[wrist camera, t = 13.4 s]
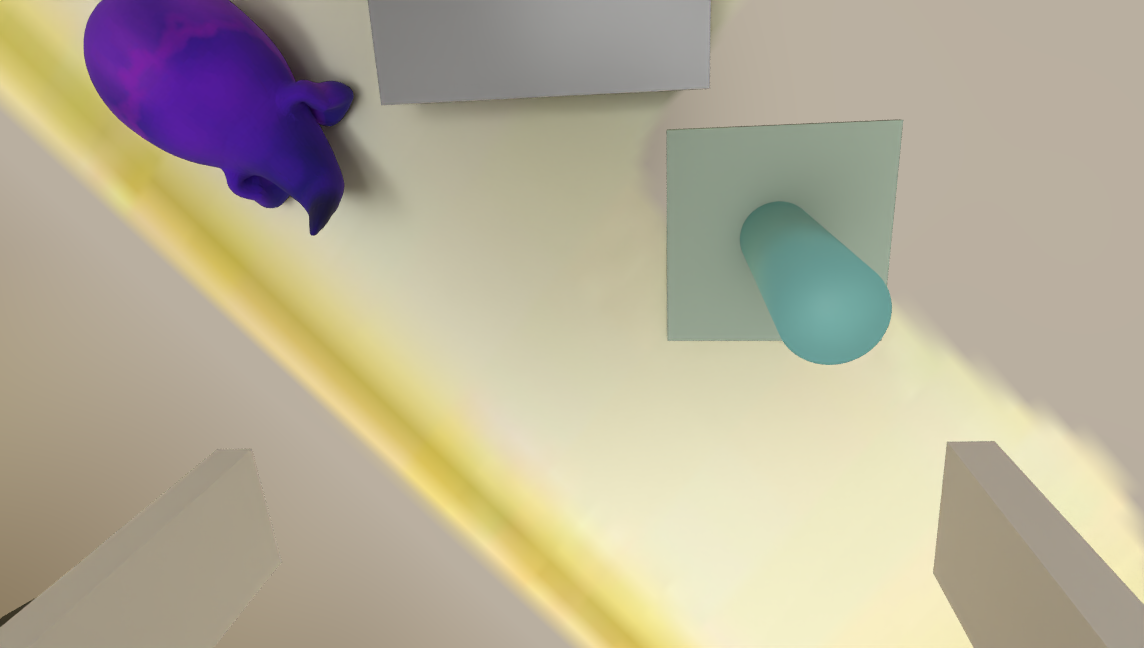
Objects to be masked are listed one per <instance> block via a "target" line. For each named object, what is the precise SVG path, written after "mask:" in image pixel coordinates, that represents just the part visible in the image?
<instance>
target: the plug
mask: <svg viewBox="0 0 1144 648" xmlns="http://www.w3.org/2000/svg"><path fill="white" fill-rule="evenodd" d="M740 246H741V250H742V253H743V255H744V257H745V259H746V262H747V264H748V266H749V268H750V270H751V273H752V275H753V277H754V279H755V282H756V284H757V286H758V288H759V291H760V293H761V295H762V297H763V299H764V302H765V304H766V306H767V308H768V311H769V313H770V315H771V317H772V319H773V322H774V324H775V326H776V328H777V331H778V333H779V335H780V337H781V339H782V340H783V342H784V343H785V345H786V346H787V347H788V348H789V349H790V350H791V351H792V352H793V353H795V354H796V355H797V356H799V357H801V358H803V359H805V360H807V361H810V362H813V363H817V364H825V365H833V364H841V363H846V362H849V361H852V360H855V359H857V358H859V357H861V356H863V355H864V354H866V353H867V352H869V351H870V350H871V349H872V348H873V347H874V346H876V345H877V343H878V342H879V341H880V340H881V338H882V337H883V335H884V334H885V332H886V330H887V328H888V325H889V322H890V319H891V313H892V303H891V297H890V293H889V290H888V288H887V286H886V284H885V283H884V281H883V280H882V278H881V277H880V276H879V275H878V274H877V273H876V272H875V271H874V270H873V269H871V268H870V267H869V266H868V265H867V264H866V263H864V262H863V261H862V260H861V259H860V258H859V257H857V256H856V255H855V254H854V253H853V252H852V251H850V250H849V249H848V248H847V247H846V246H845V245H843V244H842V243H841V242H840V241H839V240H838V239H837V238H835V237H834V236H833V235H832V234H831V233H830V232H828V231H827V230H826V229H825V228H824V227H823V226H821V225H820V224H819V223H818V222H817V221H816V220H814V219H813V218H812V217H811V216H810V215H809V214H807V213H806V212H805V211H804V210H803V209H802V208H800V207H799V206H797V205H795V204H792V203H789V202H782V201H777V202H771V203H767V204H764V205H762V206H760V207H758V208H757V209H755V210H754V211H753V212H752V213H751V214H750V215H749V216H748V217H747V219H746V220H745V222H744V224H743V226H742V229H741V233H740Z"/></svg>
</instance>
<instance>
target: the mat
mask: <svg viewBox="0 0 1144 648" xmlns="http://www.w3.org/2000/svg"><path fill="white" fill-rule="evenodd" d="M902 127H903V120H878V121H854V122H833V123H832V122H831V123H809V124H785V125H763V126H740V127H717V128H693V129H672V130H671V129H670V130H667V317H668V341H783V340H782V339H781V337H780V335H779V333H778V331H777V328H776V326H775V324H774V322H773V319H772V317H771V315H770V313H769V311H768V308H767V306H766V304H765V302H764V299H763V297H762V295H761V293H760V291H759V288H758V286H757V284H756V282H755V279H754V277H753V275H752V273H751V270H750V268H749V266H748V264H747V262H746V259H745V257H744V255H743V253H742V250H741V246H740V233H741V229H742V226H743V224H744V222H745V220H746V219H747V217H748V216H749V215H750V214H751V213H752V212H753V211H754V210H755V209H757V208H758V207H760V206H762V205H764V204H767V203H771V202H777V201H782V202H789V203H792V204H795V205H797V206H799V207H800V208H802V209H803V210H804V211H805V212H806V213H807V214H809V215H810V216H811V217H812V218H813V219H814V220H816V221H817V222H818V223H819V224H820V225H821V226H823V227H824V228H825V229H826V230H827V231H828V232H830V233H831V234H832V235H833V236H834V237H835V238H837V239H838V240H839V241H840V242H841V243H842V244H843V245H845V246H846V247H847V248H848V249H849V250H850V251H852V252H853V253H854V254H855V255H856V256H857V257H859V258H860V259H861V260H862V261H863V262H864V263H866V264H867V265H868V266H869V267H870V268H871V269H873V270H874V271H875V272H876V273H877V274H878V275H879V276H880V277H881V278H882V280H883V281H884V283H885V284H886V286H887V280H888V269H889V259H890V249H891V239H892V229H893V219H894V209H895V198H896V189H897V178H898V167H899V158H900V148H901V138H902ZM881 340H882V338H881ZM881 340H880V341H881Z"/></svg>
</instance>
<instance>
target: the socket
mask: <svg viewBox="0 0 1144 648" xmlns="http://www.w3.org/2000/svg"><path fill="white" fill-rule="evenodd" d="M368 5H369V13H370V21H371V28H372V36H373V44H374V52H375V60H376V67H377V75H378V83H379V91H380V98H381V105H397V104H421V103H440V102H460V101H479V100H499V99H518V98H538V97H557V96H577V95H596V94H616V93H636V92H655V91H675V90H693V89H708V88H710V19H711V0H368Z"/></svg>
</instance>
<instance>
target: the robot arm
mask: <svg viewBox="0 0 1144 648" xmlns="http://www.w3.org/2000/svg"><path fill="white" fill-rule="evenodd" d="M281 563H282V561H281V557H280V553H279V549H278V545H277V542H276V538H275V534H274V530H273V527H272V523H271V519H270V515H269V512H268V508H267V504H266V500H265V496H264V493H263V489H262V485H261V481H260V477H259V474H258V470H257V466H256V462H255V458H254V455H253V451H252V449H217V450H215V451H214V452H213V453H212V454H211V455H209V456H208V457H207V458H206V459H204V460H203V461H202V462H201V463H200V464H198V465H197V466H196V467H195V468H194V469H193V470H191V471H190V472H189V473H187V474H186V475H185V476H184V477H183V478H182V479H180V480H179V481H178V482H177V483H175V484H174V485H173V486H172V487H170V488H169V489H168V490H167V491H166V492H164V493H163V494H162V495H161V496H159V497H158V498H157V499H156V500H155V501H153V502H152V503H151V504H150V505H149V506H147V507H146V508H145V509H144V510H142V511H141V512H140V513H139V514H138V515H136V516H135V517H134V518H133V519H131V520H130V521H129V522H128V523H127V524H125V525H124V526H123V527H122V528H121V529H119V530H118V531H117V532H116V533H114V535H112V536H111V537H110V538H108V539H107V540H106V541H105V542H103V544H101V545H100V546H99V547H98V548H96V549H95V550H94V551H93V552H91V553H90V554H89V555H88V556H86V557H85V558H84V559H83V560H82V561H80V562H79V563H78V564H77V565H76V566H74V567H73V568H72V569H71V570H69V571H68V572H67V573H66V574H65V575H64V576H62V577H61V578H60V579H58V580H57V581H56V582H55V583H54V584H52V585H51V586H50V587H49V588H47V589H46V590H45V591H44V592H43V593H41V594H40V595H39V596H38V597H36V598H35V599H33V600H31V601H29V602H28V603H26V604H24V605H22V606H21V607H19V608H17V609H16V610H14V611H12V612H10V613H8V614H7V615H5V616H3V617H2V618H1V619H0V648H214V647H215V645H216V644H217V642H219V640H220V639H221V638H222V636H223V635H224V634H225V633H226V632H227V630H228V629H229V628H230V626H231V625H232V624H233V623H234V621H235V620H236V619H237V618H238V616H239V615H240V614H241V613H242V611H243V610H244V609H245V608H246V606H247V605H248V604H249V603H250V601H251V600H252V599H253V598H254V596H255V595H256V594H257V593H258V591H259V590H260V589H261V588H262V586H263V585H264V584H265V582H266V581H267V580H268V579H269V577H270V576H271V575H272V574H273V573H274V571H275V570H276V569H277V567H278V566H279V565H280V564H281ZM933 574H934V575H935V577H936V579H937V581H938V583H939V585H940V587H941V588H942V590H943V592H944V594H945V596H946V598H947V599H948V601H949V603H950V605H951V607H952V609H953V610H954V612H955V614H956V616H957V618H958V620H959V621H960V623H961V625H962V627H963V629H964V631H965V632H966V634H967V636H968V638H969V640H970V642H971V643H972V645H973V647H974V648H1144V604H1143V603H1142V602H1141V601H1140V600H1139V599H1138V598H1137V597H1136V595H1135V594H1134V593H1133V592H1132V591H1131V590H1130V589H1129V588H1128V587H1127V586H1126V585H1125V583H1124V582H1123V581H1122V580H1121V579H1120V578H1119V577H1118V576H1117V575H1116V574H1115V572H1114V571H1113V570H1112V569H1111V568H1110V567H1109V566H1108V565H1107V564H1106V563H1105V562H1104V560H1103V559H1102V558H1101V557H1100V556H1099V555H1098V554H1097V553H1096V552H1095V551H1094V550H1093V548H1092V547H1091V546H1090V545H1089V544H1088V543H1087V542H1086V541H1085V540H1084V539H1083V537H1082V536H1081V535H1080V534H1079V533H1078V532H1077V531H1076V530H1075V529H1074V528H1073V527H1072V525H1071V524H1070V523H1069V522H1068V521H1067V520H1066V519H1065V518H1064V517H1063V516H1062V514H1061V513H1060V512H1059V511H1058V510H1057V509H1056V508H1055V507H1054V506H1053V505H1052V504H1051V502H1050V501H1049V500H1048V499H1047V498H1046V497H1045V496H1044V495H1043V494H1042V493H1041V492H1040V490H1039V489H1038V488H1037V487H1036V486H1035V485H1034V484H1033V483H1032V482H1031V481H1030V479H1029V478H1028V477H1027V476H1026V475H1025V474H1024V473H1023V472H1022V471H1021V470H1020V469H1019V467H1018V466H1017V465H1016V464H1015V463H1014V462H1013V461H1012V460H1011V459H1010V458H1009V456H1008V455H1007V454H1006V453H1005V452H1004V451H1003V450H1002V449H1001V448H1000V447H999V446H998V444H997V443H996V442H995V441H979V442H947V447H946V456H945V466H944V475H943V484H942V494H941V503H940V513H939V522H938V531H937V541H936V550H935V559H934V569H933Z"/></svg>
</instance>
